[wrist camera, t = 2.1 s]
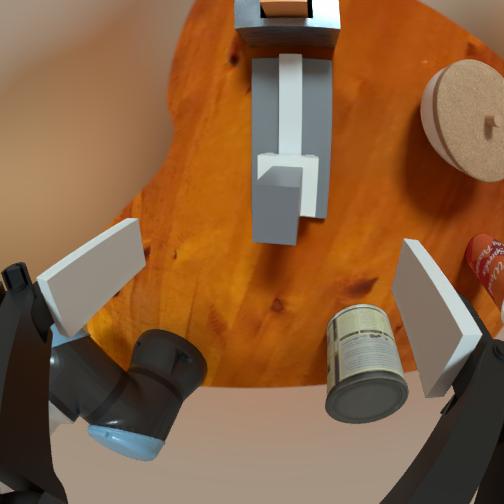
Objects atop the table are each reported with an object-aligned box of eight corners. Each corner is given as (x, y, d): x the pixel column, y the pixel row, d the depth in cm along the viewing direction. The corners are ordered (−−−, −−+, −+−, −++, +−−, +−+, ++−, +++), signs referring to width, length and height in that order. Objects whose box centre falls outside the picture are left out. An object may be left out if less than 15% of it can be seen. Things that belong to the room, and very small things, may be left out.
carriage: (263, 203, 32) (231, 253, 20) (263, 152, 30) (229, 169, 17) (314, 206, 31) (316, 260, 19) (317, 155, 29) (323, 173, 16)
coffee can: (395, 340, 39) (411, 410, 26) (337, 359, 43) (338, 430, 30) (381, 293, 36) (403, 366, 23) (316, 316, 40) (313, 392, 27)
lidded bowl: (437, 185, 28) (481, 211, 18) (386, 97, 25) (420, 84, 16) (497, 142, 23) (547, 154, 13) (452, 58, 20) (498, 41, 11)
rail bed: (253, 210, 35) (248, 217, 32) (253, 60, 27) (248, 54, 24) (325, 215, 33) (326, 223, 31) (331, 62, 25) (332, 56, 22)
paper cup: (482, 215, 28) (540, 259, 15) (503, 246, 28) (553, 293, 16) (450, 256, 31) (496, 314, 19) (474, 283, 32) (515, 340, 19)
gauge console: (244, 47, 26) (227, 29, 20) (244, 2, 23) (228, -22, 17) (334, 48, 24) (340, 28, 18) (331, 2, 21) (335, -24, 15)
